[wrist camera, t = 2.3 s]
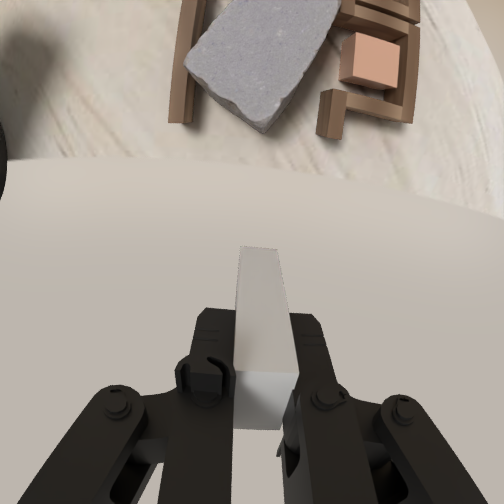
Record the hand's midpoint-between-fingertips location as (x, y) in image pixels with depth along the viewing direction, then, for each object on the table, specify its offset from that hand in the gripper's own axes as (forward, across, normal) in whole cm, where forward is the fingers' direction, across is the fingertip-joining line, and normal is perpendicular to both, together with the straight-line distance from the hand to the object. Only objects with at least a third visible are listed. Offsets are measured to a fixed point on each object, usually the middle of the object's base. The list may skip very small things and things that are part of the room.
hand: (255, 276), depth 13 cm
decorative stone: (+16, 0, +13) cm, 21 cm away
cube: (+16, +9, +13) cm, 23 cm away
